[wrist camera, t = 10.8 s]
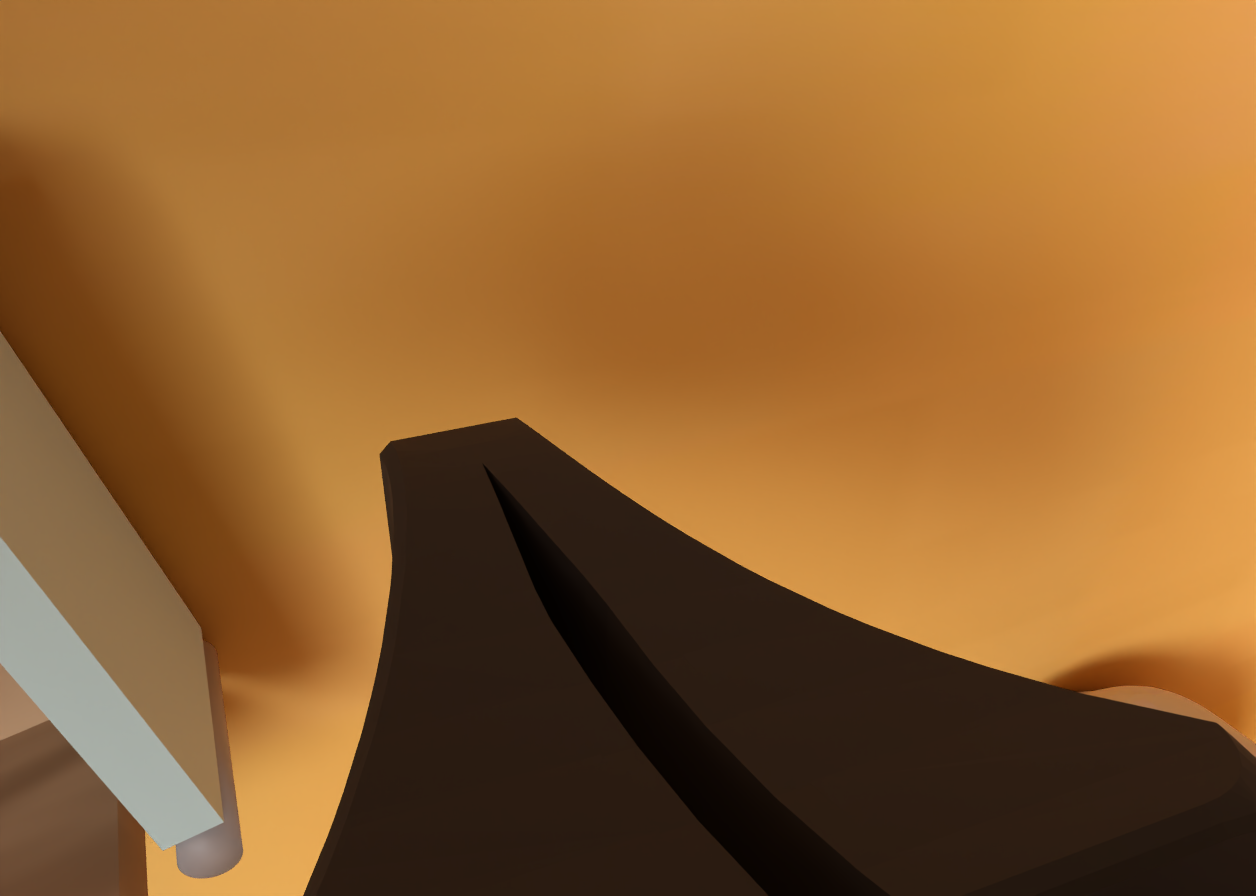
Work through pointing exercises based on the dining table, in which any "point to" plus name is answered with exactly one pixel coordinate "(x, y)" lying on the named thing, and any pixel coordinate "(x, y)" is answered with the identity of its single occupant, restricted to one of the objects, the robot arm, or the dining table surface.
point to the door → (108, 638)
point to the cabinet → (59, 813)
